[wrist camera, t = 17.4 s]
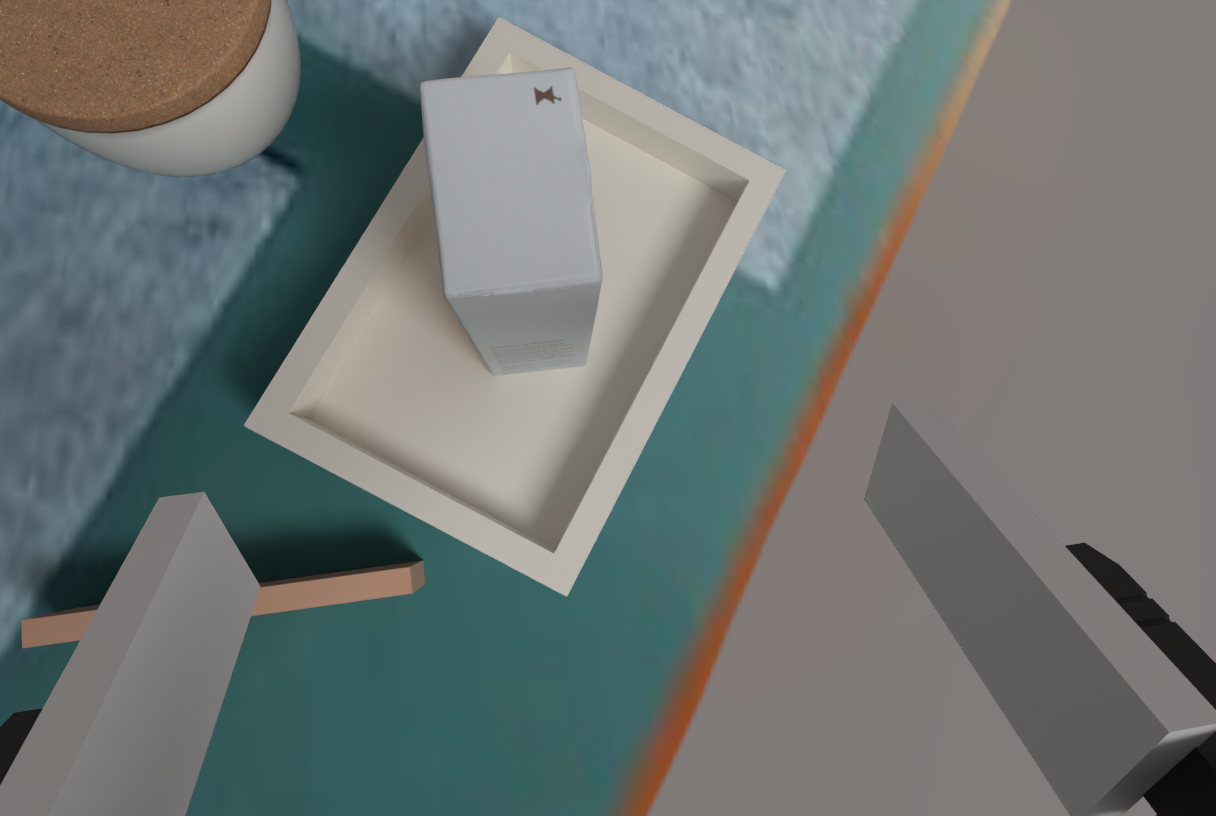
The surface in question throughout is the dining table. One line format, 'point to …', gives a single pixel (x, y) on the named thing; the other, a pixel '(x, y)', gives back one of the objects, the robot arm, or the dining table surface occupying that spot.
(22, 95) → the lidded jar
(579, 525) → the cream tray
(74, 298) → the dining table surface
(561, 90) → the skincare box
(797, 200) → the dining table surface
